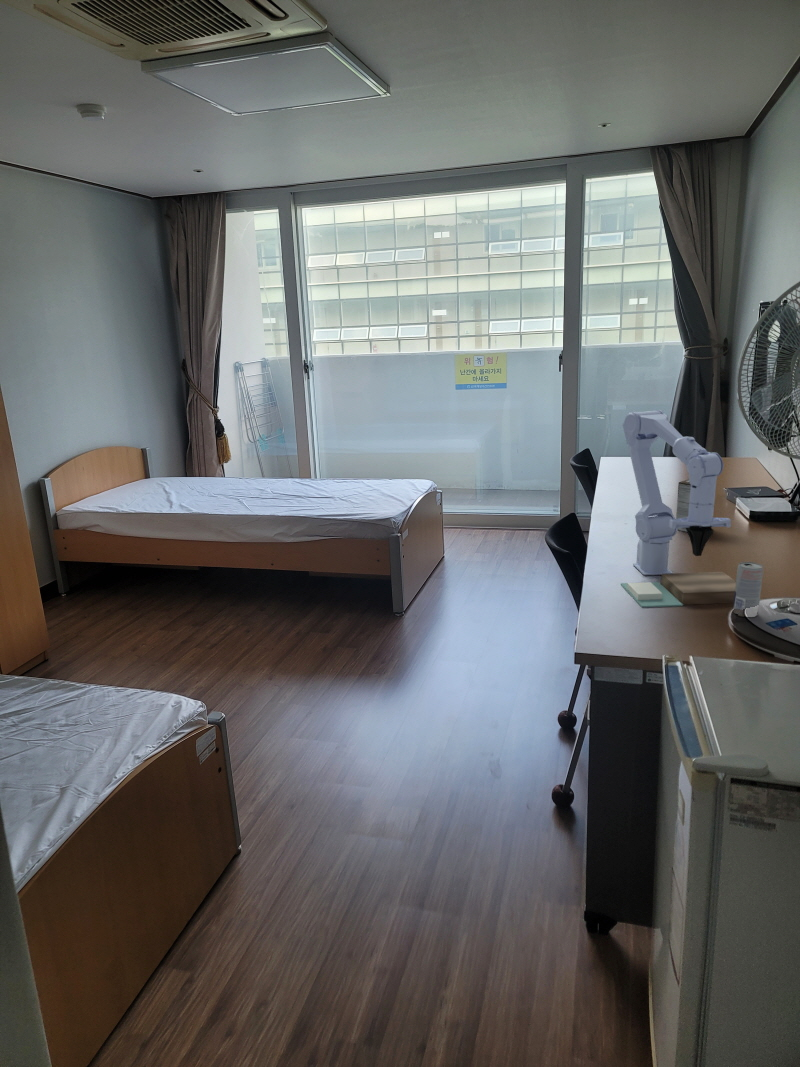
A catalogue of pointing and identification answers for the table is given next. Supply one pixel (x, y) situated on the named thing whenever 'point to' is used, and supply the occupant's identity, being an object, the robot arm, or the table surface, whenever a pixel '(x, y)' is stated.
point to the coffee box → (683, 500)
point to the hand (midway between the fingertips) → (696, 554)
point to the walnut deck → (700, 587)
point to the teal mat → (666, 599)
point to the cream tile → (644, 591)
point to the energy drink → (748, 585)
